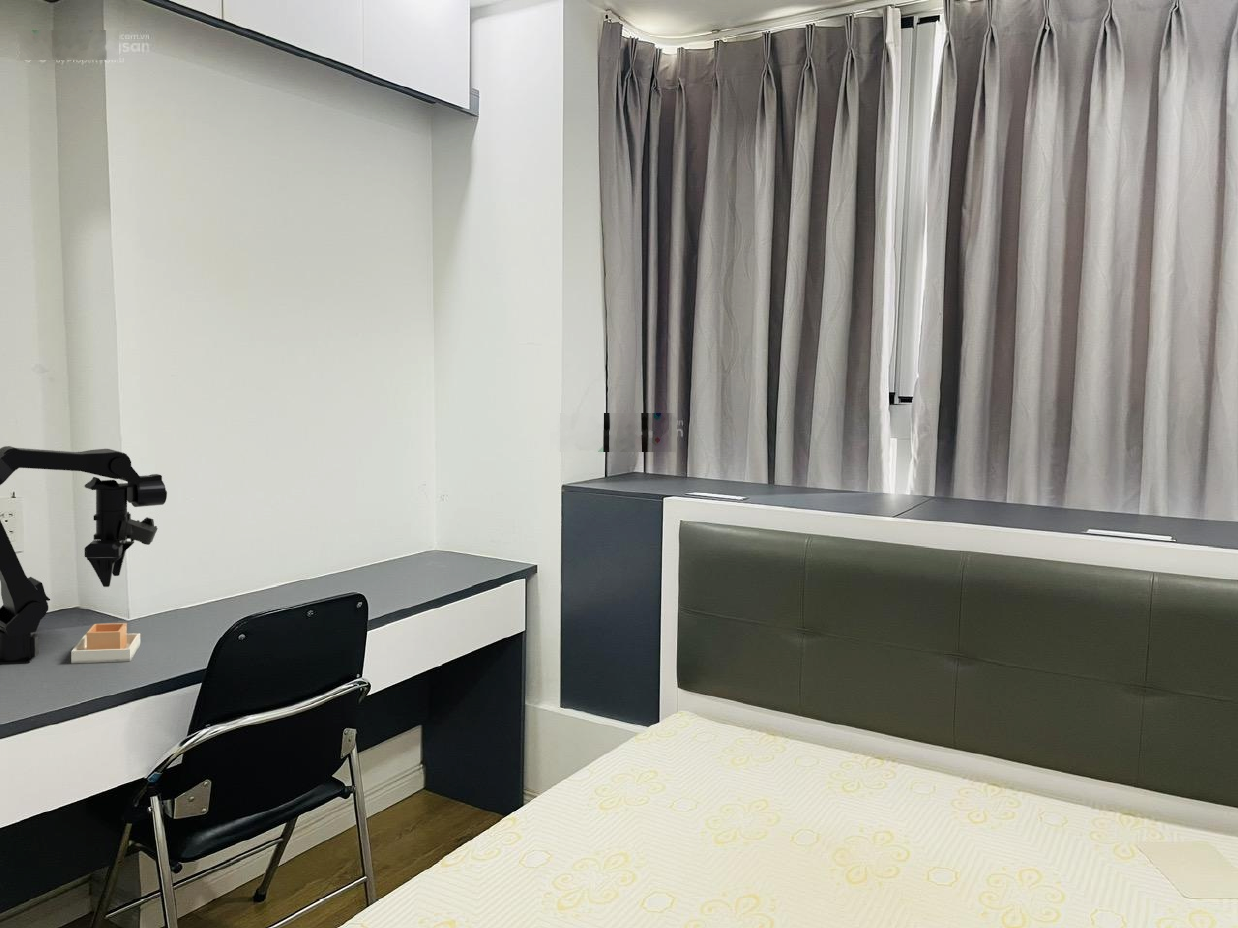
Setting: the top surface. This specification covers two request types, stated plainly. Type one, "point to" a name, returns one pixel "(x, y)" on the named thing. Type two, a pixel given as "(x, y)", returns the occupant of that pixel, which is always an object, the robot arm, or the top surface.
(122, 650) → the cream square tray
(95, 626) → the small crate
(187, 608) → the top surface
